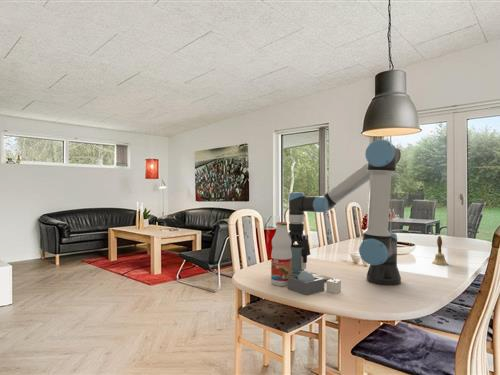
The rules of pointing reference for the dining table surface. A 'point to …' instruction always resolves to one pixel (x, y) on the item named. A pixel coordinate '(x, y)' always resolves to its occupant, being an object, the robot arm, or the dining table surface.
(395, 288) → the dining table surface
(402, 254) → the dining table surface
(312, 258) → the dining table surface
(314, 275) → the track board
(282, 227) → the fruit juice
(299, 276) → the blue-grey ball
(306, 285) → the collar
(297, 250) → the teal and white cup
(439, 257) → the hand bell
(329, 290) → the die
